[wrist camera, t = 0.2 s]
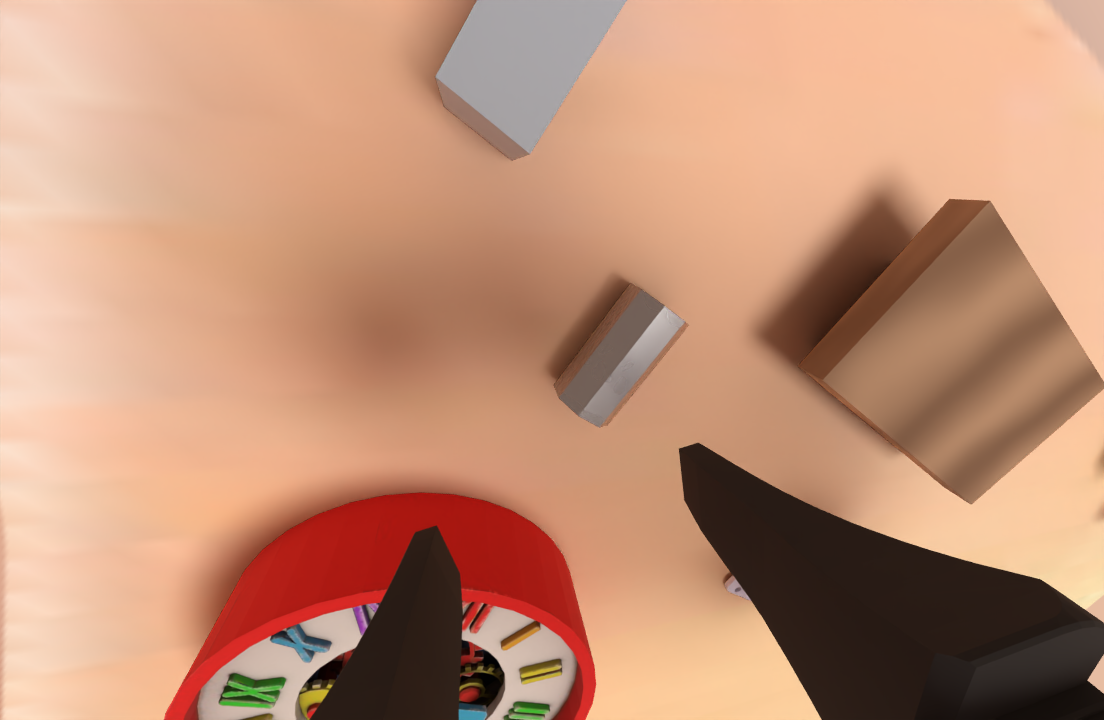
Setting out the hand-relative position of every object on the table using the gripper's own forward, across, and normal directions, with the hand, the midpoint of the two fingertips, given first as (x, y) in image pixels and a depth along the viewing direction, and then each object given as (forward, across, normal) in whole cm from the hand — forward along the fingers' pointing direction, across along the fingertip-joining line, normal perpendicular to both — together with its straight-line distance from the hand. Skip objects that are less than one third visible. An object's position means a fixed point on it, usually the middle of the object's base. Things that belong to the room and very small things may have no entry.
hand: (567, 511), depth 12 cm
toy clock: (+10, +11, +14) cm, 20 cm away
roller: (+9, -4, 0) cm, 10 cm away
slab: (+6, -21, +5) cm, 23 cm away
